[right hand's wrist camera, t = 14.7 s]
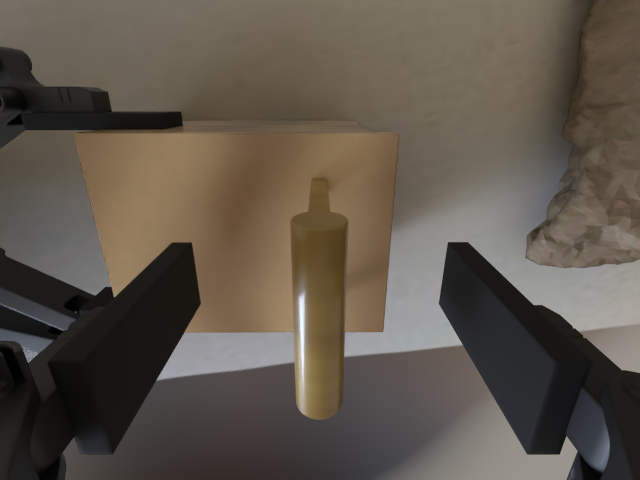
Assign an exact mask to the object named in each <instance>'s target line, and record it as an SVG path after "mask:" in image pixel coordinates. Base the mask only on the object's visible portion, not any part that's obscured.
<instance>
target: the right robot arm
mask: <svg viewBox="0 0 640 480" xmlns="http://www.w3.org/2000/svg"><path fill="white" fill-rule="evenodd" d="M200 305H201V300H200V293H199V287H198V280H197V273H196V266H195V259H194V253H193V246H192V242H172V243H171V244H170V245H169V246H168V247H167V248H166V249H165V250H164V251H163V252H162V253H160V254H159V255H158V256H157V257H156V258H155V259H154V260H153V261H152V262H151V263H150V264H149V265H148V266H147V267H146V268H145V269H144V270H143V271H142V272H141V273H140V274H138V275H137V276H136V277H135V278H134V279H133V280H132V281H131V282H130V283H129V284H128V285H127V286H126V287H125V288H124V289H123V290H122V291H121V292H120V293H119V294H118V295H117V296H115V297H114V298H113V299H112V300H111V301H110V302H109V303H108V304H107V305H106V306H98V307H96V308H94V309H93V310H91V311H89V312H87V313H85V314H84V315H82V316H80V317H79V318H78V319H77V320H76V321H75V322H74V323H72V324H71V325H70V326H69V327H68V330H65V331H64V332H62V333H61V334H60V335H59V336H58V337H57V340H54V341H52V342H51V343H50V344H49V345H48V346H47V347H46V348H45V349H44V350H42V351H41V352H40V353H39V354H38V355H37V356H36V357H35V358H33V359H32V360H31V361H30V362H29V363H28V362H27V360H26V357H25V354H24V352H23V349H22V347H21V345H20V344H19V343H17V342H15V341H0V480H65V473H66V461H65V457H64V455H63V451H64V450H65V448H66V447H67V446H68V444H69V443H70V442H71V440H72V439H73V437H74V438H75V441H76V443H77V446H78V449H79V452H80V454H113V453H114V451H115V450H116V448H117V446H118V444H119V443H120V441H121V439H122V438H123V436H124V434H125V432H126V431H127V429H128V427H129V426H130V424H131V422H132V420H133V419H134V417H135V416H136V414H137V412H138V410H139V409H140V407H141V405H142V404H143V402H144V400H145V398H146V397H147V395H148V393H149V392H150V390H151V388H152V387H153V385H154V383H155V381H156V380H157V378H158V376H159V375H160V373H161V371H162V369H163V368H164V366H165V364H166V363H167V361H168V359H169V358H170V356H171V354H172V352H173V351H174V349H175V347H176V346H177V344H178V342H179V341H180V339H181V337H182V335H183V334H184V332H185V330H186V329H187V327H188V325H189V323H190V322H191V320H192V318H193V317H194V315H195V313H196V312H197V310H198V308H199V306H200ZM439 305H440V306H441V308H442V310H443V312H444V313H445V315H446V317H447V318H448V320H449V322H450V323H451V325H452V327H453V329H454V330H455V332H456V334H457V335H458V337H459V339H460V341H461V342H462V344H463V346H464V347H465V349H466V351H467V352H468V354H469V356H470V358H471V359H472V361H473V363H474V364H475V366H476V368H477V369H478V371H479V373H480V375H481V376H482V378H483V380H484V381H485V383H486V385H487V386H488V388H489V390H490V392H491V393H492V395H493V397H494V398H495V400H496V402H497V404H498V405H499V407H500V409H501V410H502V412H503V414H504V416H505V417H506V419H507V421H508V422H509V424H510V426H511V427H512V429H513V431H514V433H515V434H516V436H517V438H518V439H519V441H520V443H521V444H522V446H523V448H524V450H525V451H526V453H527V454H560V452H561V449H562V446H563V443H564V441H565V438H566V436H567V437H568V438H569V440H570V441H571V442H572V444H573V445H574V446H575V448H576V449H577V450H578V452H577V455H576V457H575V460H574V462H573V465H572V468H571V470H570V473H569V475H568V478H567V480H640V373H636V372H631V371H625V370H621V369H620V368H619V367H618V366H616V365H615V364H614V363H613V362H612V361H611V360H610V359H609V358H607V357H606V356H605V355H604V354H603V353H602V352H601V351H600V350H598V349H597V348H596V347H595V346H594V345H593V344H592V343H591V342H590V341H588V340H587V339H586V338H583V335H582V334H581V333H579V332H578V331H577V330H576V329H573V328H572V325H570V324H569V323H568V322H567V321H566V320H565V319H564V318H563V317H561V316H560V315H559V314H557V313H555V312H553V311H552V310H550V309H548V308H546V307H544V306H543V305H533V304H532V303H531V302H530V301H529V300H528V299H527V298H526V297H525V296H524V295H522V294H521V293H520V292H519V291H518V290H517V289H516V288H515V287H514V286H513V285H512V284H511V283H510V282H509V281H508V280H507V279H506V278H505V277H504V276H503V275H502V274H500V273H499V272H498V271H497V270H496V269H495V268H494V267H493V266H492V265H491V264H490V263H489V262H488V261H487V260H486V259H485V258H484V257H483V256H482V255H481V254H480V253H479V252H477V251H476V250H475V249H474V248H473V247H472V246H471V245H470V244H469V243H468V242H448V246H447V253H446V259H445V266H444V273H443V280H442V287H441V294H440V300H439Z"/></svg>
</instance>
